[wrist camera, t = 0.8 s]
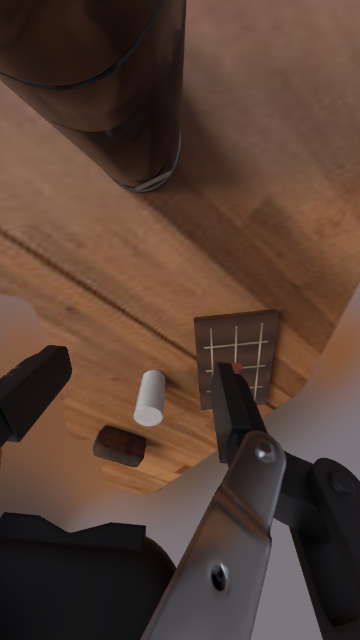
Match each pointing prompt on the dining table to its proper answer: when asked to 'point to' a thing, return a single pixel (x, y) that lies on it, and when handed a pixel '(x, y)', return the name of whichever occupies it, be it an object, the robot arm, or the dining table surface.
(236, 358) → the board
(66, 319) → the dining table surface
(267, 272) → the dining table surface
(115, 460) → the brick
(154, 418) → the white upright cylinder
